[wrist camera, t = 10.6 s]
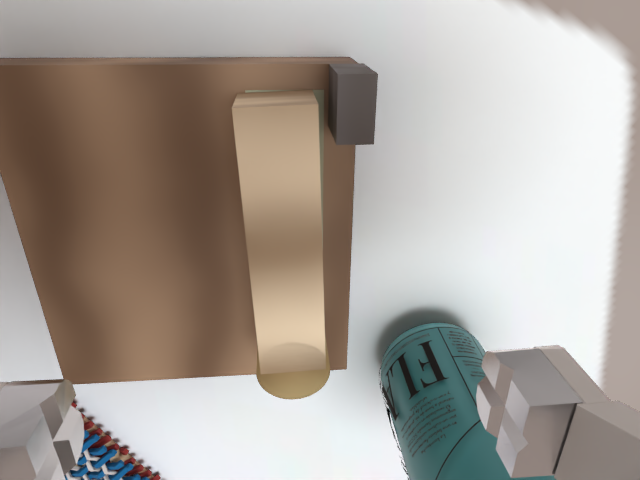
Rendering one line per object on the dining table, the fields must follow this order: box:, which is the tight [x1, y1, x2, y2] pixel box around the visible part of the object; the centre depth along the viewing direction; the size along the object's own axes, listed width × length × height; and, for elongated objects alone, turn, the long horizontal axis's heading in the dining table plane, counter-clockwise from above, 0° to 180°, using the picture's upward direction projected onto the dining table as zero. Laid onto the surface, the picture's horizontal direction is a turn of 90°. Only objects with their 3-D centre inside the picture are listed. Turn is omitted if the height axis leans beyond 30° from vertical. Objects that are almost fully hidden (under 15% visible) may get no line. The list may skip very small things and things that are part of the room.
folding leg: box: [232, 90, 330, 399], centre depth 21 cm, size 14×3×3 cm, turn 2°
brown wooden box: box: [0, 57, 378, 384], centre depth 22 cm, size 15×16×6 cm
